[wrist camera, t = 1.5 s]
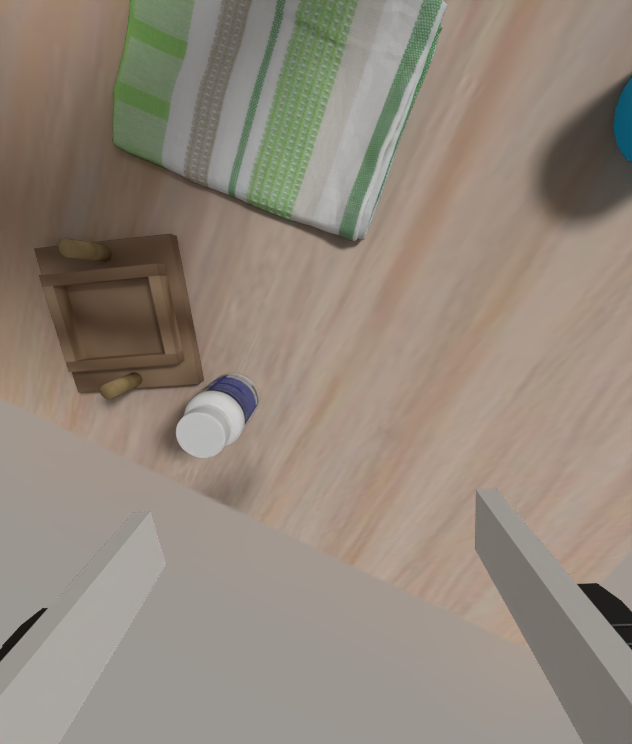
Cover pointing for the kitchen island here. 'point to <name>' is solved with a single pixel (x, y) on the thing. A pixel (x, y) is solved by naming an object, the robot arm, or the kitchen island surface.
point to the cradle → (121, 313)
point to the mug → (624, 121)
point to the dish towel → (276, 98)
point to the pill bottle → (217, 415)
